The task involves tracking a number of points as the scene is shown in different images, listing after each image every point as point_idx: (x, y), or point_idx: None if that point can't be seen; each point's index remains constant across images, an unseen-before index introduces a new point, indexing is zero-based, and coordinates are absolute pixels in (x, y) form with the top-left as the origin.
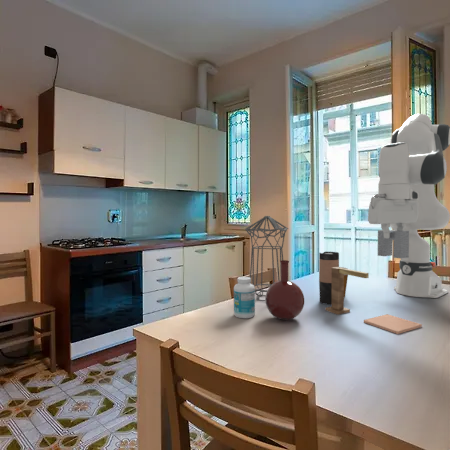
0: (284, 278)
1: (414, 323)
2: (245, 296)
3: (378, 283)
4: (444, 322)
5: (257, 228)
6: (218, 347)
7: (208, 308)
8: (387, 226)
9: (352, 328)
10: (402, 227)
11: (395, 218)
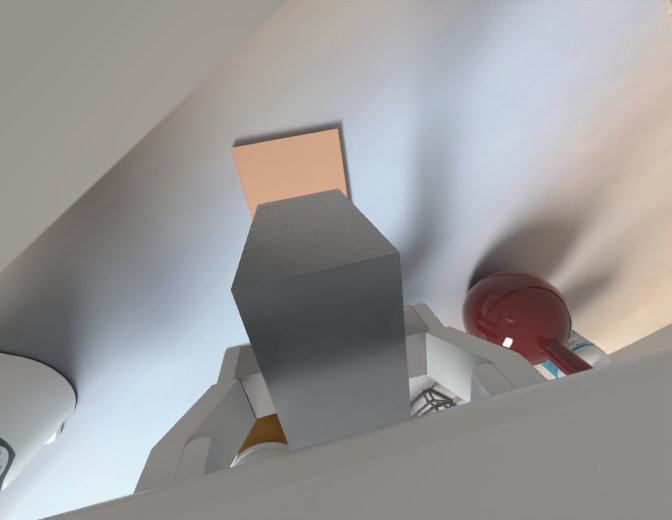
0: (566, 346)
1: (245, 161)
2: (585, 339)
3: (68, 485)
4: (131, 153)
5: None
6: (668, 198)
7: None
8: (520, 363)
9: (404, 200)
10: (200, 434)
11: (478, 487)
